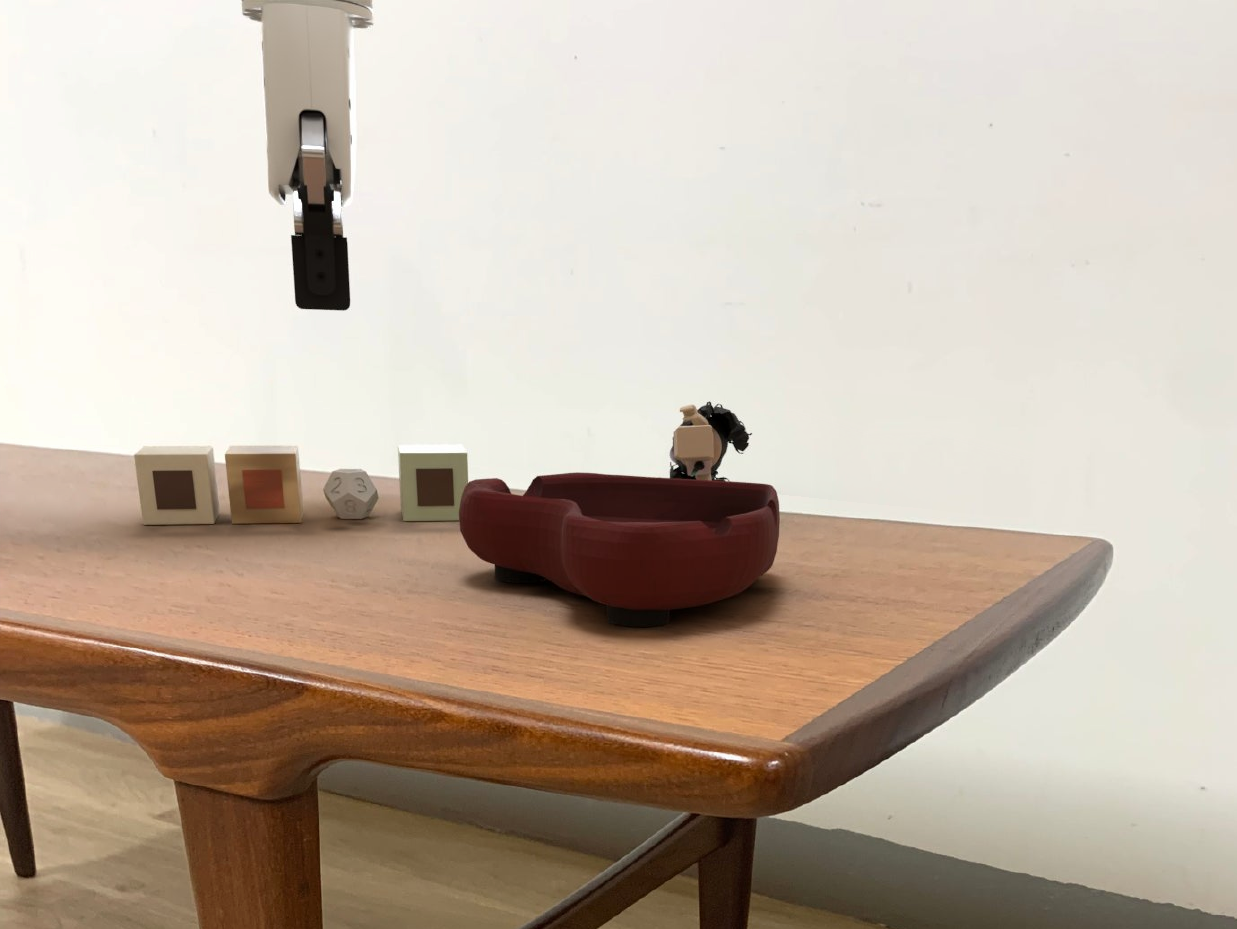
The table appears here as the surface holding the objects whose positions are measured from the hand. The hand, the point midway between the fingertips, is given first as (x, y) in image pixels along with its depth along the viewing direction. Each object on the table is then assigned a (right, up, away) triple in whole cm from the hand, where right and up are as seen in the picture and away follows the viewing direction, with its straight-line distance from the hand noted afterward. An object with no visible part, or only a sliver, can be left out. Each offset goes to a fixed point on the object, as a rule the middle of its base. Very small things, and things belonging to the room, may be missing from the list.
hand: (324, 307), depth 84 cm
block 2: (-5, -12, +5) cm, 14 cm away
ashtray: (+21, -21, -13) cm, 32 cm away
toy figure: (+22, -5, +12) cm, 26 cm away
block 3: (+6, -11, +7) cm, 14 cm away
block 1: (-10, -13, +3) cm, 17 cm away
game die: (+1, -12, +6) cm, 13 cm away
